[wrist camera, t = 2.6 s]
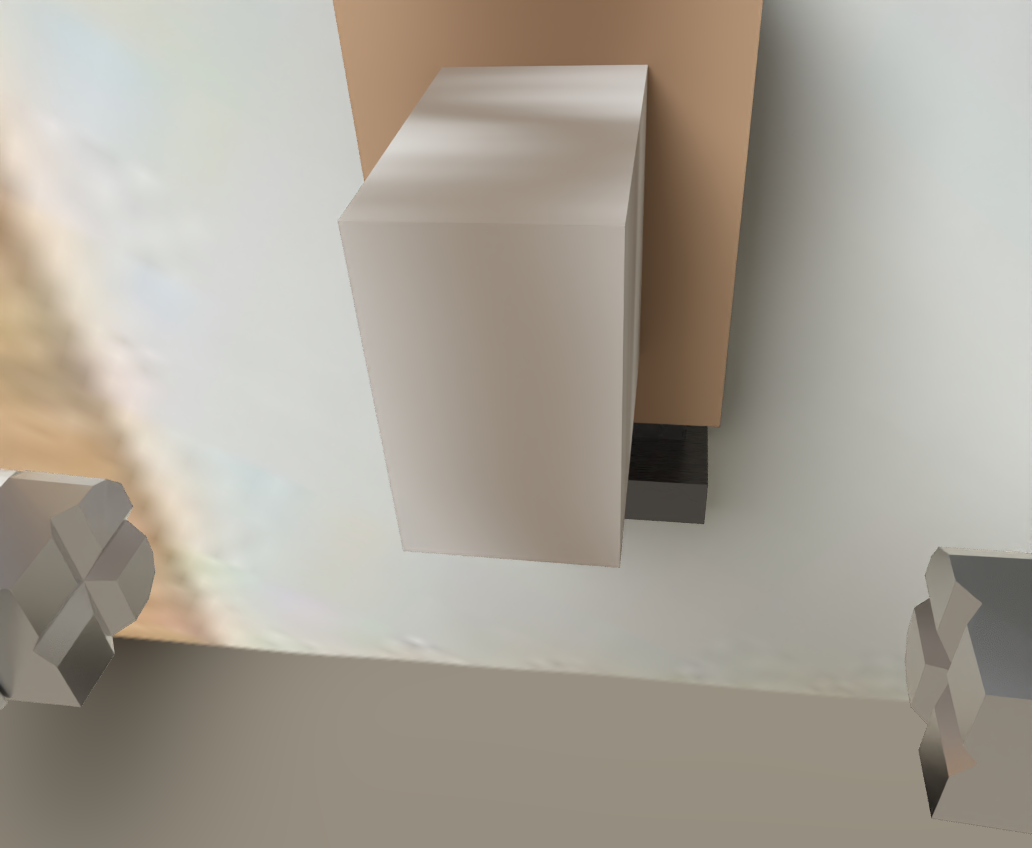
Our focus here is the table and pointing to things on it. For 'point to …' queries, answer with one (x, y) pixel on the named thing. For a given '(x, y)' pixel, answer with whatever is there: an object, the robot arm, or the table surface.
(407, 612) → the table surface
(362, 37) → the carriage
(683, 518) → the rail
